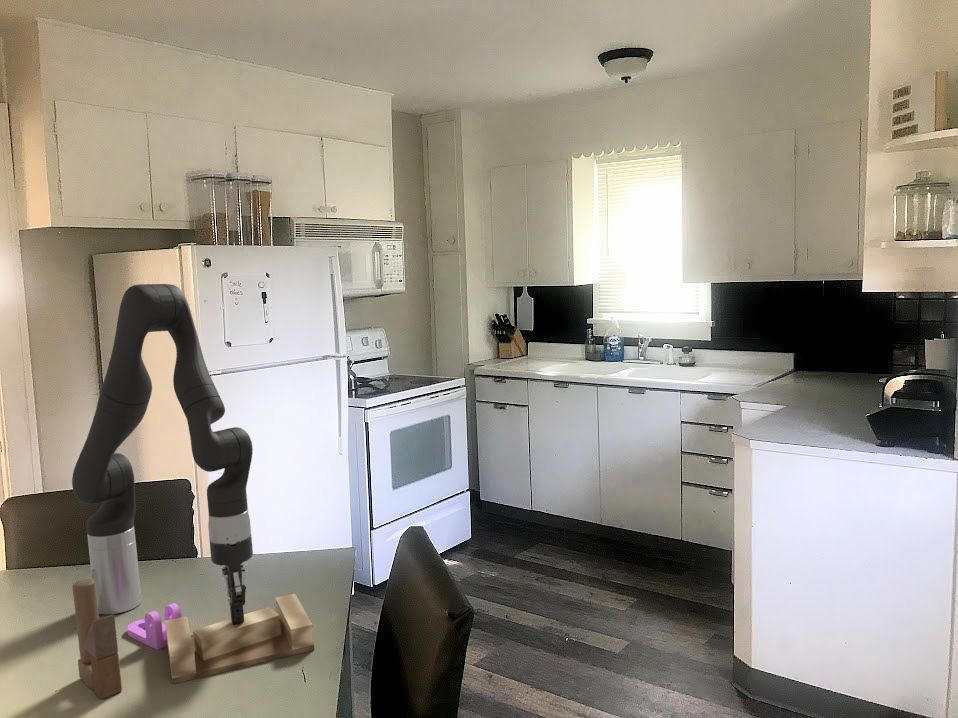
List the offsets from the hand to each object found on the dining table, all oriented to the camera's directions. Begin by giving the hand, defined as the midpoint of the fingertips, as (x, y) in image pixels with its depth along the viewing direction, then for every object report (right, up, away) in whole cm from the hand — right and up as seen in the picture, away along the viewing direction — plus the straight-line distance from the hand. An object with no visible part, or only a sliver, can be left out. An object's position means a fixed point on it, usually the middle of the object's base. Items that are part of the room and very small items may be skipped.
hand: (237, 622), depth 151 cm
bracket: (-19, -5, +7) cm, 21 cm away
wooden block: (-21, -8, -11) cm, 25 cm away
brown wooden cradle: (0, -5, +1) cm, 5 cm away
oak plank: (0, -4, +1) cm, 4 cm away
